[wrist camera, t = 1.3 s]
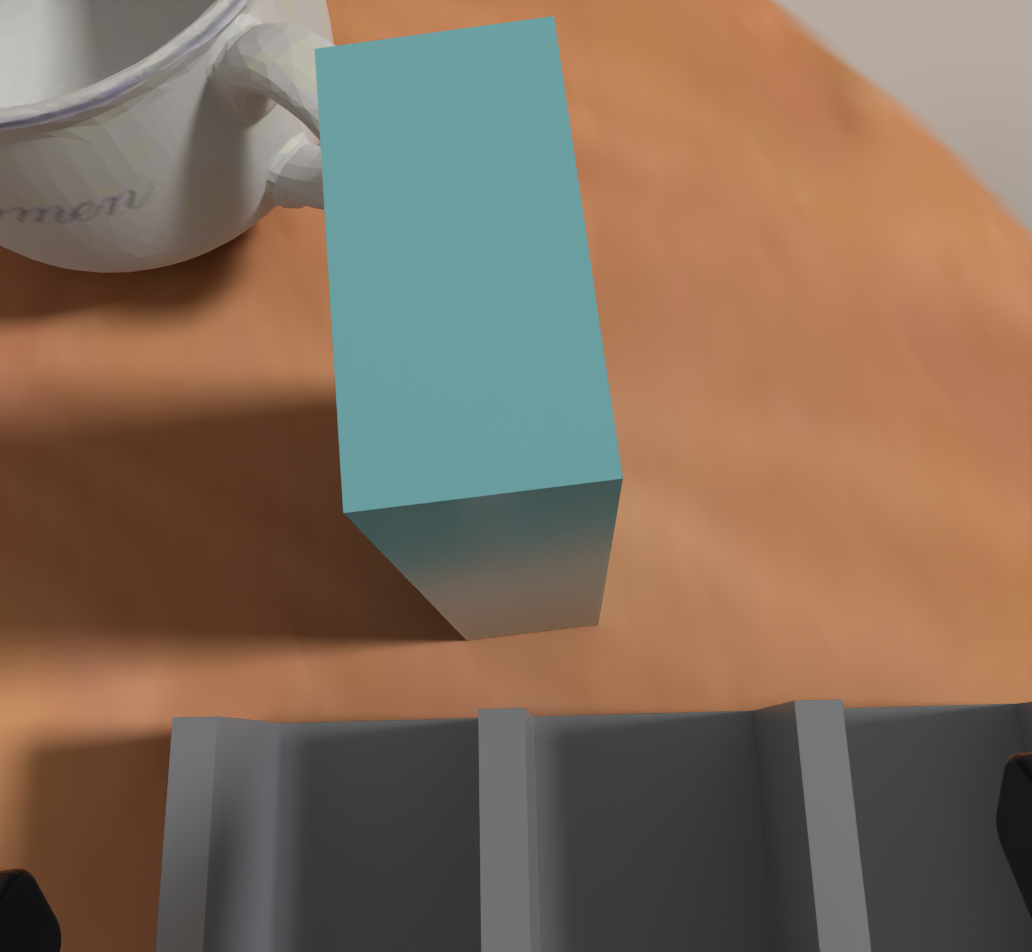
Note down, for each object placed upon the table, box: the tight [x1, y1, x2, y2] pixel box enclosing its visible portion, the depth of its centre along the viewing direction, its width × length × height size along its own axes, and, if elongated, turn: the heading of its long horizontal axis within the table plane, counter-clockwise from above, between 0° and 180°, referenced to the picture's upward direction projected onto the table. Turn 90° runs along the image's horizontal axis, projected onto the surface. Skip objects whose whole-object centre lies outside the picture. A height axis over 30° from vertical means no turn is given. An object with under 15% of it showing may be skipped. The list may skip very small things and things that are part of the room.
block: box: [315, 16, 623, 640], centre depth 17 cm, size 6×3×12 cm, turn 6°
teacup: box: [0, 0, 335, 273], centre depth 22 cm, size 14×11×8 cm
